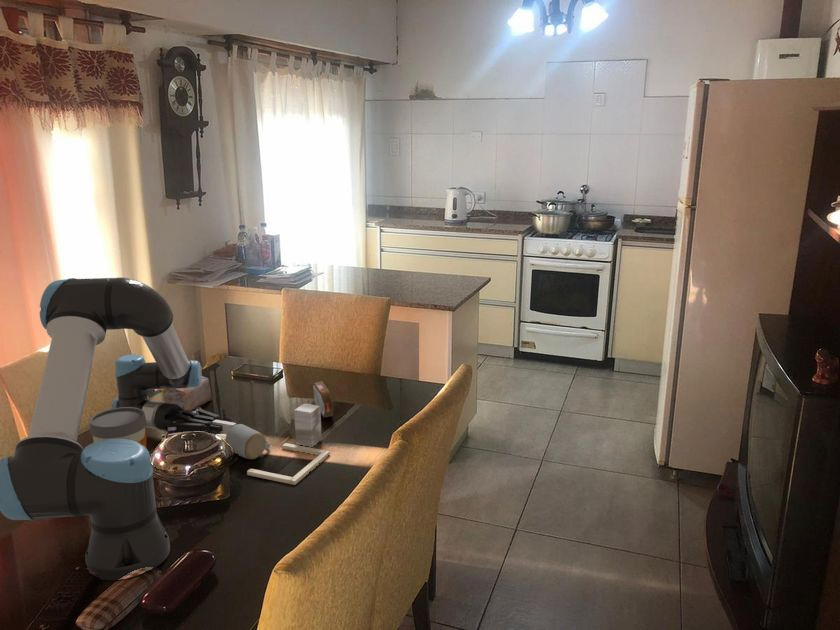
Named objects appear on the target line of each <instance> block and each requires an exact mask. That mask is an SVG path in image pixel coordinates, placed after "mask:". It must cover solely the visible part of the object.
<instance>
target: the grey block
mask: <svg viewBox="0 0 840 630" xmlns="http://www.w3.org/2000/svg"><path fill="white" fill-rule="evenodd" d="M293 411H294V430H295V432H294V433H295V445H299V446H300V445H303V446H304V447H305V446H309V448H311V447H313V446H314V445H315V444H316V445H318V444H317V443H318V442H319V441H320V442H321V441H322V439H323V438H322V417H321V416H322V415H321V413H320V406H317V405H316V404H310V403H303V404H301V405H299V406H298V407H297V408H295V409H294V410H293ZM320 442H319V443H320ZM316 445H315V446H316ZM315 446H314V447H315ZM314 447H313V448H314Z"/></svg>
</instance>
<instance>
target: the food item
mask: <svg viewBox="0 0 840 630" xmlns="http://www.w3.org/2000/svg"><path fill="white" fill-rule="evenodd" d="M164 399H165V401H164V402H166V403H173V404H177V405H179V406H180V407H181V408H182V409H183V410H190V411H191V412H193V411H195V410H196V408H198V407H201V406H203V405H204V404H207V403H208V402H210V401H212V400H213V398H212V390H211V384H210V380H209V378H208V377H205V376H203V375H202V377H201V383H200V385H199V386H198V387H191V388H187V389H185V388H178V389H167V392H166V393H164Z"/></svg>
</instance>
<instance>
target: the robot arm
mask: <svg viewBox="0 0 840 630" xmlns="http://www.w3.org/2000/svg"><path fill="white" fill-rule="evenodd" d="M40 298H41V299H40V303H39V308H40V311H39V319H40V322H41V324H42V325H41V326H42V327H43V328H44V329H45V330H46V334H47V336H49V338H51V341H50V346H49V349H48V352H47V358H46V361H45V366H44V370H43V373H42V377H41V381H40V386H39V390H38V394H37V398H36V402H35V407H34V411H33V414H32V418H31V423H30V427H29V429H28V430H29V431H28V435H27V436H26V437H24V438H23V439H21V440H19V441H18V442H17V443H16V446H15V449H14V453H13V456H11V455H8V456H6V457H3V458H1V459H0V513H1V514H2V515H3V516H4V517H6V518H7V519H9V520H12V521H24V520H25V521H27V520H28V521H35V520H44V519H54V518H55V519H56V518H68V517H69V518H70V517H81V516H82V517H83V516H89V519H90V520H89V521H90V525H91V529H90V530H91V531H90V534H89V539H88V546H87V549H86V551H85V555H84V557H85V559H84V560H85V566H86V565H87V566H88V567H89V568H90V569H93V570H95V571H97V572H98V574H99V577H100V579H99V580H103V581H119V580H118V579H120V578H122V577H123V576H125V575H127V574H128V573H130V572H132V571H134V570H137V569H140V568H145V567H153V568H154V569H156V568H157V567H159V566H160V565H162V563H163V562H164V561H165V560H166V559H167V558H168V557H169V555H170V552H171V544H170V536H169V535H168V532H167V531H166V529H165V527H164V525H163V523H162V521H161V519H160V517H159V515H158V513H157V512H158V511H157V504H156V503H157V502H156V495H155V483H154V477H153V476H154V475H153V474H154V469H153V468H154V467H153V465H152V461H151V457H150V456H151V455H150V452H149V450H148V448H147V446H146V447H144V446H143V445H141V444H140V443H138V442H136V441H132V440H127V439H106V440H103V441H102V442H100V441H97V442H94V443H93V442H92V443H90V444H88V445H87V446H85V447H84V448H83V446H82V444H80V443H79V442H78V437H79V432H80V429H81V422H82V417H83V414H84V413H83V412H84V408H85V402H86V397H87V393H88V387H89V381H90V377H91V372H92V366H93V362H94V361H93V360H94V357H95V351H96V346H98V345H99V344H102V343H103V342H104V341H105V339H106V335H107V331H109V330H110V331H111V330H133V332H134V333H136V335H138V336H140V337H142V339H143V341H144V343H145V344H146V347H147V348H148V350H149V353H151V356H152V357H153V359H154V361H153V362H146V360H145V358H144V356H143V355H141V354H136V353H135V354H133V353H132V354H126V355H123V356H120V357H118V358H117V359H116V360H115V361H114V362H115V364H114V365H115V366H114V367H115V375H114V376H115V379H116V380H115V381H116V387H117V388H116V389H117V395H118V396H117V397H116V398H114V400H112V403H111V408H110V409H114V408H121V407H134V408H139V409H141V410H143V411H144V414H145V418H146V422H147V425H146V426H145V428H151V429H154V430H159V431H165V432H167V433H168V434H174V433H173V432H183V431H205V433H206V432H207V434H208V433H211V434H210V435H212V434H213V432H215V433H216V432H217V433H221V434H226V435H227V433H228V432H229V430H230V429H231V428H232V427H233V426H235V425H237V423H236V422H232V421H227V420H221V417H220V414H216V413H214V412H211V411H208V410H205V409H202V407H201V406H199V407H198V408H196V409H195V410H192V411H190V410H183V409H182V408H181V407H180V406H179V405H177V404H173V403H166V402H165V401H162V400H154V399H149V394H148V393H149V391H153V390H168V389H178V388H185V389H187V388H191V387H198V386H199V385H200V383H201V377H202V376H203V375H202V365H201V363H200V361H199V360H192V359H188V357H187V353H186V352H185V350H184V347H183V345H182V342H181V340H180V338H179V336H178V334H177V333H178V332H177V331H176V328H175V327H174V324H173V322H174V313H173V311H172V308H171V306H170V305H169V303H168V301H167V300H166V298H164V297H163V295H161V294H160V293H159V292H158V291H157V290H155V289H154V288H152V287H151V286H149V285H148V284H145V283H143V282H142V281H139V280H136V279H134V278H129V277H104V278H103V277H102V278H99V277H97V278H74V277H72V278H71V277H70V278H67V279H57V280H54V281H52V282H51V283H49V284H48V285H47V286H46V288H45V289H44V291H43V293H42V295H41V297H40ZM148 390H149V391H148Z"/></svg>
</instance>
